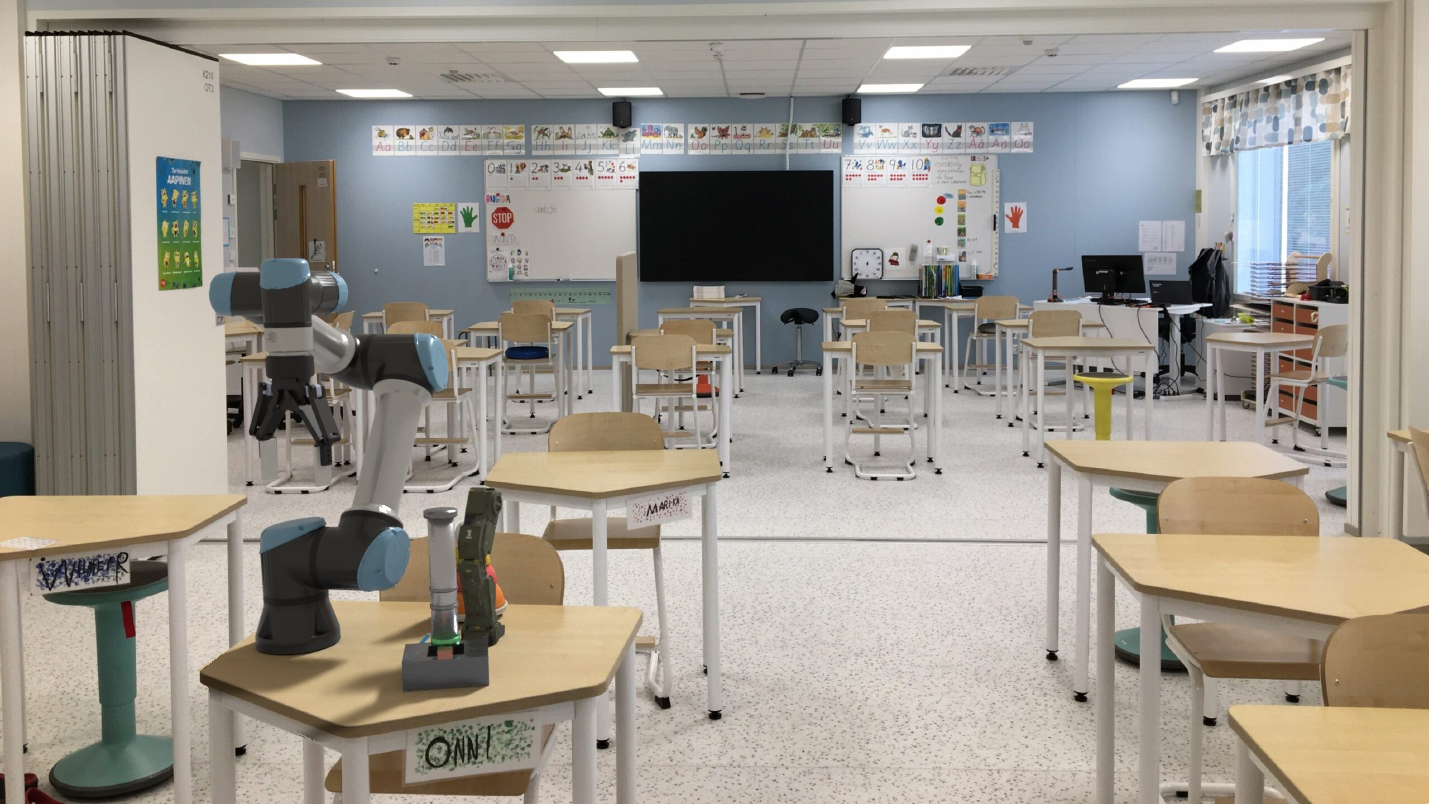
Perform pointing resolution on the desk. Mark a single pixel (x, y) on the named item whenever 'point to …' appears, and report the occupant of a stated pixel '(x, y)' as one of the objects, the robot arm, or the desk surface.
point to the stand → (445, 665)
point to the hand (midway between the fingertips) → (296, 482)
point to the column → (442, 576)
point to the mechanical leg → (479, 565)
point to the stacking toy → (500, 601)
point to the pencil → (426, 637)
